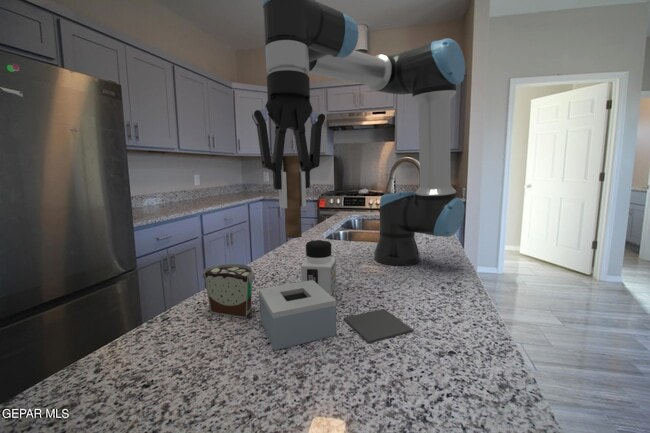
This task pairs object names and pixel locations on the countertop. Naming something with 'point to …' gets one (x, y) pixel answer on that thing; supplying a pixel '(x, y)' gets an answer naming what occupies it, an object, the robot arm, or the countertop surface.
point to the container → (319, 265)
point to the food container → (229, 289)
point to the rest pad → (377, 325)
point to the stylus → (292, 197)
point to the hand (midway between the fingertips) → (292, 206)
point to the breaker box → (297, 313)
